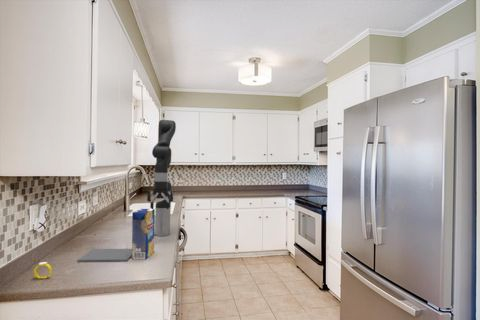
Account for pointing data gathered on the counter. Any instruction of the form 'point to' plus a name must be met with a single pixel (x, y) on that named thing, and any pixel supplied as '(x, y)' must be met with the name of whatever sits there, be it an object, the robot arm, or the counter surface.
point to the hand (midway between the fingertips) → (159, 209)
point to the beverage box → (143, 233)
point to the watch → (42, 265)
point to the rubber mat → (107, 255)
